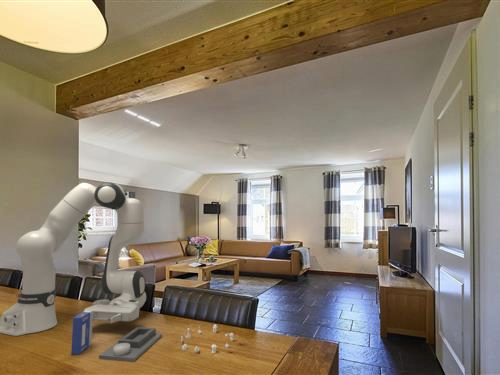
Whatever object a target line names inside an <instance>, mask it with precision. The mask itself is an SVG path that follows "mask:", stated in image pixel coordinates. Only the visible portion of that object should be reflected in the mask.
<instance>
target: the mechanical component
mask: <svg viewBox="0 0 500 375" xmlns="http://www.w3.org/2000/svg"><path fill="white" fill-rule="evenodd" d="M110 302H111V300H109V299H97V300H94V301H93V302H92V306H94V305H99V304H101V305H109V303H110Z"/></svg>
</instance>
